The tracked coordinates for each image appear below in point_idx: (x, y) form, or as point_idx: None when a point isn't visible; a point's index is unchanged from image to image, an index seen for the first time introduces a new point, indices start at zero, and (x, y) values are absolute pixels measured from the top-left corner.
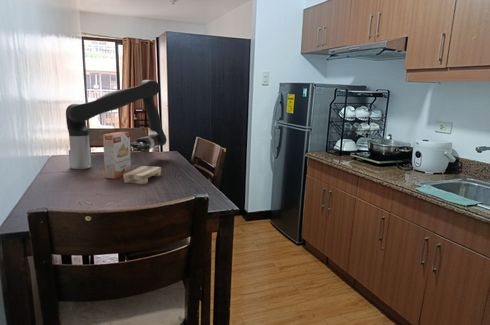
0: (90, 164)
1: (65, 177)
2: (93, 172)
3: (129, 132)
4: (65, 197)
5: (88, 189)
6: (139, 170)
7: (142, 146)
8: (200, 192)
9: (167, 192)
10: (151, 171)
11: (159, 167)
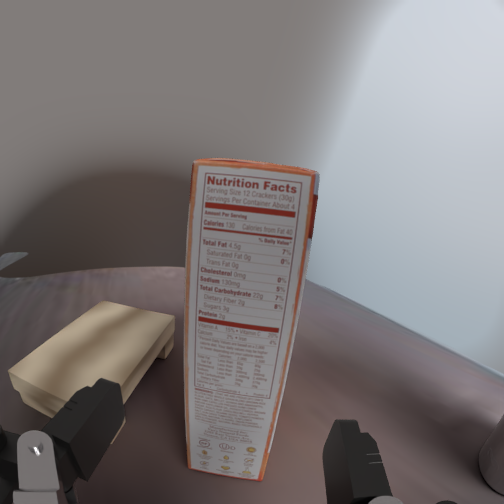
0: (499, 476)
1: (408, 371)
2: (394, 438)
3: (195, 160)
4: None
5: None
6: (115, 342)
7: (47, 437)
8: (4, 281)
9: (61, 289)
10: (68, 327)
11: (17, 366)
